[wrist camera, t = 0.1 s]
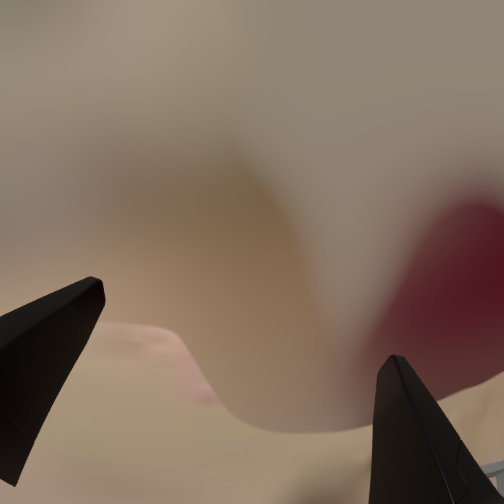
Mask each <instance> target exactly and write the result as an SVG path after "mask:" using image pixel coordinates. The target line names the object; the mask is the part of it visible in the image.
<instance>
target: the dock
mask: <svg viewBox="0 0 504 504" xmlns="http://www.w3.org/2000/svg"><path fill="white" fill-rule="evenodd" d="M480 468H481V469H482V471H483V472H484V473H485V475H486V476H487V477H488V478H490V477H494V476H496V477H497V485H498V492H499V493H500V494H501V495H502V496H503V497H504V460H503V461H500V462H496V463H492V464H488V465H483V466H480Z"/></svg>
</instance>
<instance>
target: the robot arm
mask: <svg viewBox="0 0 504 504" xmlns="http://www.w3.org/2000/svg"><path fill="white" fill-rule="evenodd" d="M105 301H106V300H105V293H104V288H103V282H102V281H101V280H100V279H98V278H95V277H91V276H90V277H87V278H85V279H82V280H80V281H78V282H75V283H73V284H71V285H68V286H66V287H64V288H62V289H60V290H57V291H55V292H53V293H50V294H48V295H46V296H44V297H41V298H39V299H37V300H35V301H33V302H30V303H28V304H26V305H24V306H22V307H19V308H17V309H15V310H13V311H11V312H9V313H7V314H4V315H2V316H1V317H0V479H1V480H3V481H5V482H6V483H8V484H10V485H12V486H14V487H15V486H16V485H17V482H18V480H19V477H20V475H21V472H22V470H23V468H24V465H25V463H26V460H27V458H28V456H29V454H30V451H31V449H32V447H33V445H34V441H35V440H36V438H37V436H38V434H39V431H40V429H41V427H42V425H43V423H44V421H45V419H46V417H47V415H48V413H49V411H50V409H51V407H52V405H53V403H54V401H55V399H56V397H57V396H58V394H59V392H60V390H61V388H62V386H63V384H64V383H65V381H66V379H67V377H68V375H69V373H70V372H71V370H72V368H73V366H74V365H75V363H76V361H77V359H78V358H79V356H80V354H81V353H82V351H83V349H84V347H85V346H86V344H87V342H88V340H89V338H90V335H91V333H92V331H93V329H94V327H95V325H96V323H97V320H98V318H99V316H100V314H101V312H102V310H103V308H104V306H105ZM368 504H504V497H503V496H502V495H501V494H500V493H499V492H498V491H497V489H496V488H495V487H494V485H493V484H492V483H491V481H490V480H489V479H488V477H487V476H486V475H485V473H484V472H483V471H482V469H481V468H480V466H479V465H478V464H477V462H476V461H475V459H474V458H473V456H472V455H471V453H470V452H469V450H468V449H467V447H466V446H465V444H464V443H463V441H462V440H461V438H460V436H459V435H458V433H457V432H456V430H455V429H454V427H453V426H452V424H451V423H450V421H449V420H448V418H447V417H446V415H445V414H444V412H443V411H442V409H441V408H440V406H439V405H438V403H437V402H436V401H435V399H434V398H433V396H432V395H431V394H430V392H429V391H428V389H427V388H426V386H425V385H424V383H423V382H422V381H421V379H420V378H419V376H418V375H417V374H416V372H415V371H414V370H413V368H412V367H411V365H410V364H409V363H408V361H407V360H406V359H405V357H403V356H400V355H391V356H390V357H389V358H388V359H387V360H386V362H385V363H384V364H383V366H382V367H381V369H380V370H379V372H378V375H377V384H376V394H375V404H374V415H373V439H372V464H371V480H370V492H369V503H368Z"/></svg>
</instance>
